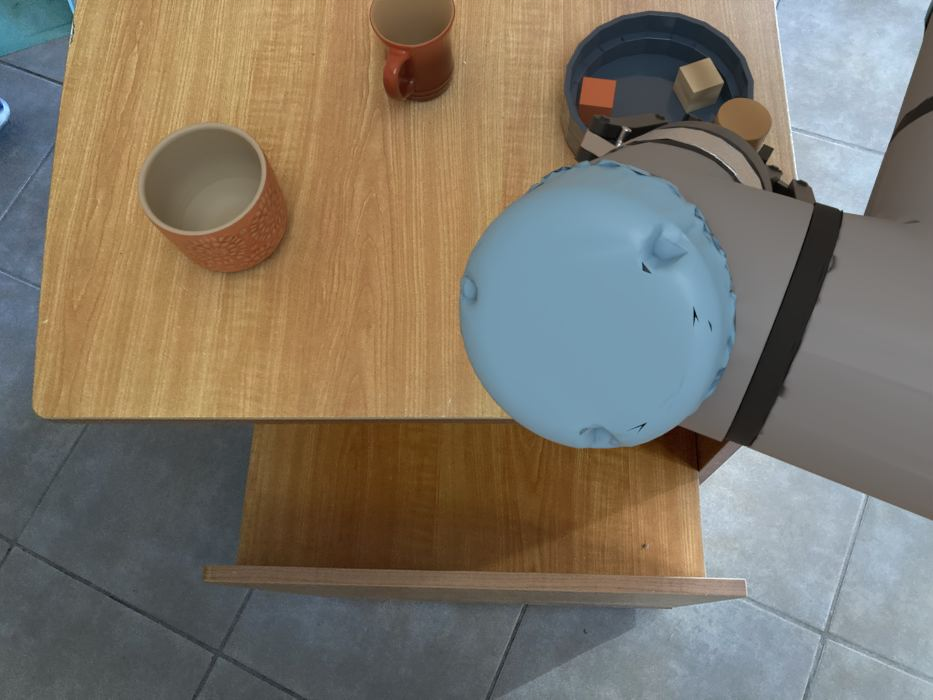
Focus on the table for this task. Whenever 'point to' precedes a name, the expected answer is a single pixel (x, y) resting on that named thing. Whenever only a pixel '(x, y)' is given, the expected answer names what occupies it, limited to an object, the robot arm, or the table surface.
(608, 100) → the terracotta block
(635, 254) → the robot arm
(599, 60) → the bowl
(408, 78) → the mug
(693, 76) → the cream block
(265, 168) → the planter
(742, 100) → the pestle
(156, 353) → the table surface
